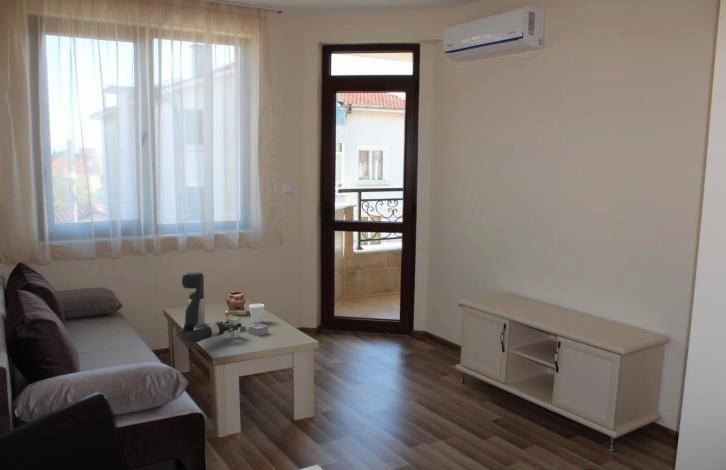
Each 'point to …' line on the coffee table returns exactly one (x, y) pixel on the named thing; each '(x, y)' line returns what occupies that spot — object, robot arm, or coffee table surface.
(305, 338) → the coffee table surface
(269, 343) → the coffee table surface
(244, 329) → the plate
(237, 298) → the decorative planter
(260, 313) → the cup
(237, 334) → the cover
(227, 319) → the brown piece
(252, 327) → the housing
